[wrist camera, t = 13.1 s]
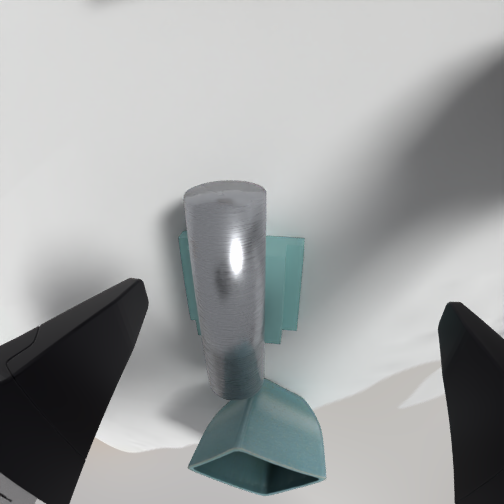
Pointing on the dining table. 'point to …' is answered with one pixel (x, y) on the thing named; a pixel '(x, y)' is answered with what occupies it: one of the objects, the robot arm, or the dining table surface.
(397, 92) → the dining table surface
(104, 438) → the dining table surface
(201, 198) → the axle
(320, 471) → the flower pot
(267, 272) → the cradle
